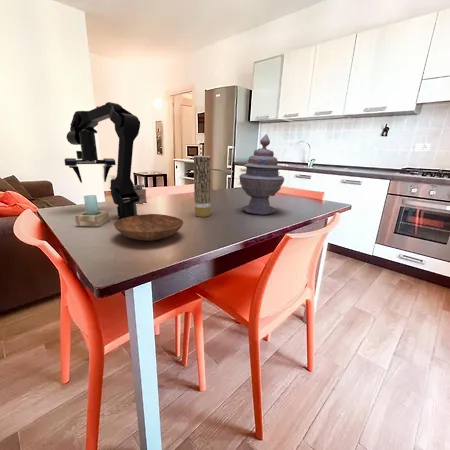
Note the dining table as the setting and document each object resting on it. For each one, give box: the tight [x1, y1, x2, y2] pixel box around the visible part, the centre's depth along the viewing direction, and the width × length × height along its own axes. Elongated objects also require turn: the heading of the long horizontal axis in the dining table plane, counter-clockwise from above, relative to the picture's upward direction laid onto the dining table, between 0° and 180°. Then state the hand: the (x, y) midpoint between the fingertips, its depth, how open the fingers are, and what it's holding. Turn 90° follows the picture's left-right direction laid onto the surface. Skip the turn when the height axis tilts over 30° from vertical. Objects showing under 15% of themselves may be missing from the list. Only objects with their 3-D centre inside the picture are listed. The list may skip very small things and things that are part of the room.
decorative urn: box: [238, 133, 285, 216], centre depth 110 cm, size 20×20×35 cm
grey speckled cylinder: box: [193, 155, 212, 218], centre depth 102 cm, size 7×7×25 cm
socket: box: [74, 210, 111, 228], centre depth 90 cm, size 8×8×4 cm
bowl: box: [113, 213, 184, 242], centre depth 77 cm, size 20×22×5 cm
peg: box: [83, 194, 99, 215], centre depth 89 cm, size 4×4×10 cm
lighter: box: [134, 184, 148, 205], centre depth 126 cm, size 8×3×10 cm, turn 143°
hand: (93, 182), depth 106 cm, fingers open, 9 cm apart
